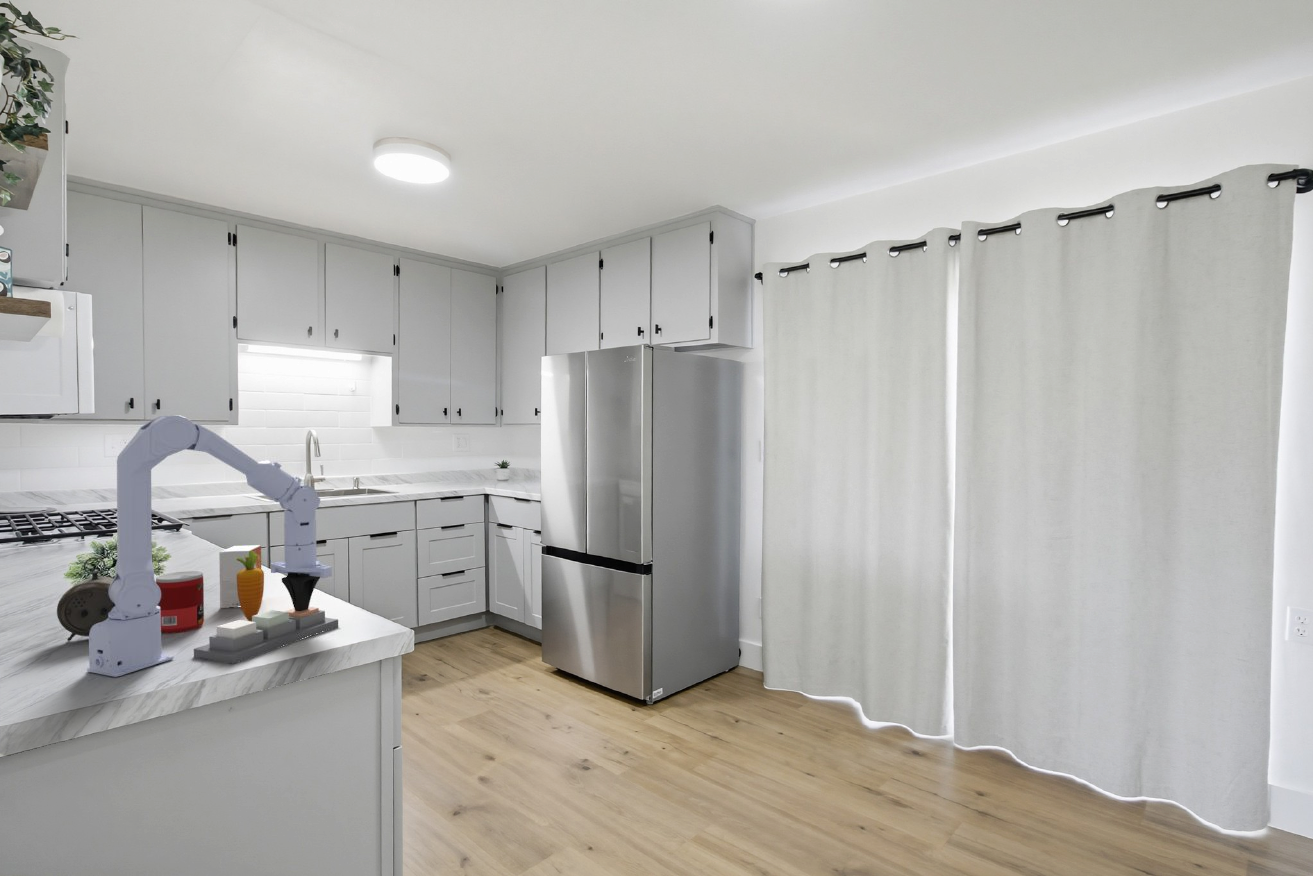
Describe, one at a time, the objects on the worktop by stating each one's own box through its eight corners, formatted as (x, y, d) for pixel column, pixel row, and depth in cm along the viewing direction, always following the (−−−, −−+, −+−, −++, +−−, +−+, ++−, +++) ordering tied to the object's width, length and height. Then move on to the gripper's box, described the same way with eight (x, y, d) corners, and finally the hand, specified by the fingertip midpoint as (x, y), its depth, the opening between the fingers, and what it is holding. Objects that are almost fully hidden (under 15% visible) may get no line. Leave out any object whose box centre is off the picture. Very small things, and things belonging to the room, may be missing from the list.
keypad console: (233, 664, 117) (232, 644, 117) (193, 657, 121) (193, 637, 121) (338, 626, 139) (338, 609, 139) (302, 621, 142) (302, 605, 142)
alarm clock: (134, 632, 136) (132, 552, 135) (125, 640, 131) (123, 557, 130) (65, 639, 131) (63, 557, 131) (53, 648, 126) (51, 562, 126)
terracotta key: (300, 623, 133) (300, 613, 133) (284, 621, 135) (284, 611, 135) (318, 617, 138) (318, 608, 137) (302, 615, 139) (302, 605, 139)
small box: (250, 607, 154) (249, 550, 154) (219, 608, 153) (218, 551, 152) (262, 598, 162) (261, 544, 162) (233, 599, 160) (232, 545, 160)
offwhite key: (233, 640, 120) (233, 629, 120) (216, 637, 122) (216, 626, 122) (256, 632, 124) (256, 622, 124) (239, 630, 126) (239, 619, 126)
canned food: (208, 627, 139) (207, 574, 138) (161, 636, 133) (160, 581, 132) (198, 620, 144) (197, 569, 144) (152, 628, 138) (151, 575, 138)
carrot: (252, 626, 139) (250, 554, 139) (231, 624, 140) (230, 553, 140) (270, 619, 144) (269, 549, 144) (250, 618, 145) (249, 549, 145)
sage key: (268, 628, 127) (268, 618, 127) (252, 626, 128) (252, 616, 128) (289, 622, 131) (288, 612, 131) (272, 620, 133) (272, 610, 132)
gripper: (343, 542, 137) (344, 608, 137) (291, 538, 142) (292, 601, 143) (314, 548, 130) (315, 617, 131) (261, 543, 136) (262, 610, 136)
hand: (301, 610), depth 136 cm, fingers closed, pressing on terracotta key
